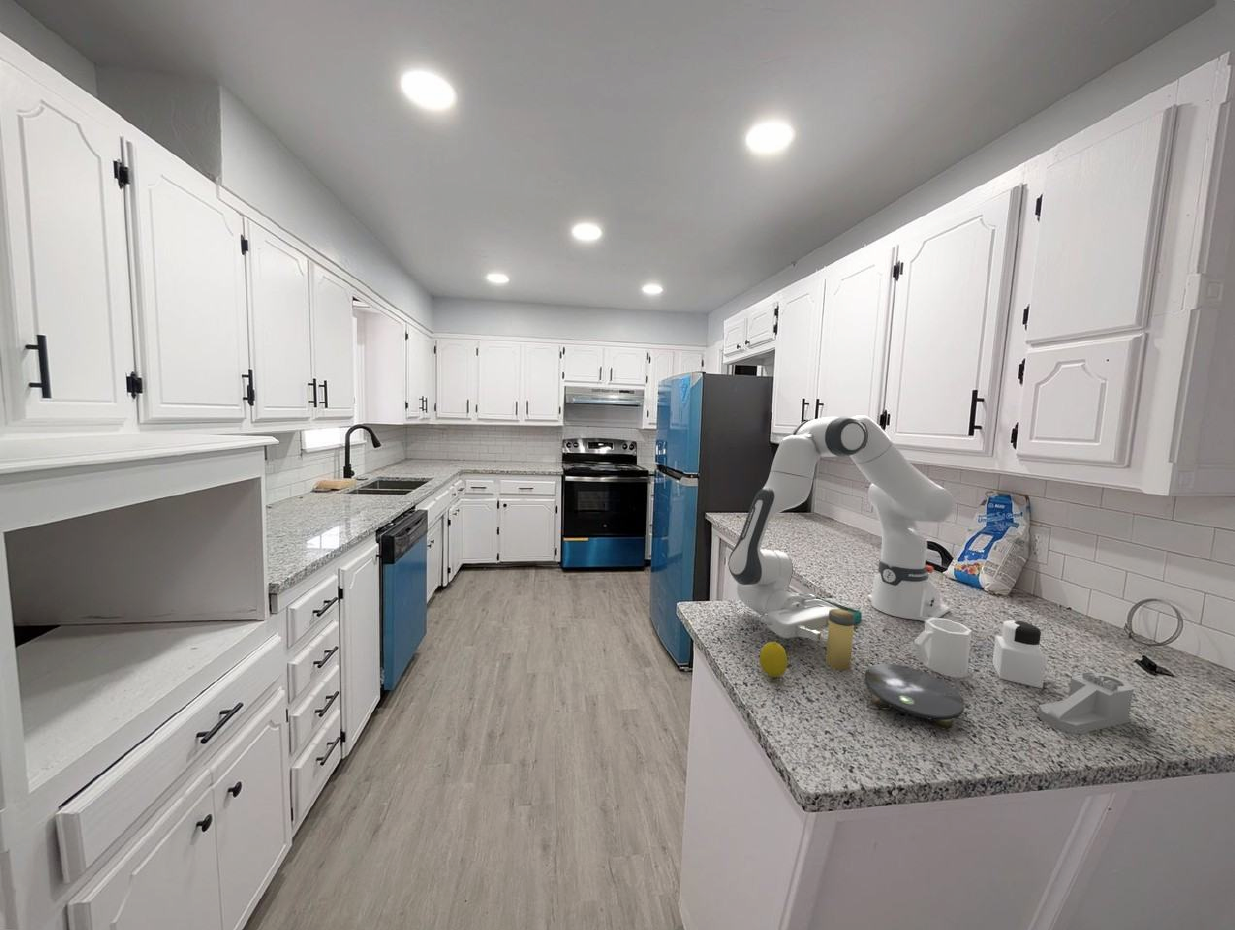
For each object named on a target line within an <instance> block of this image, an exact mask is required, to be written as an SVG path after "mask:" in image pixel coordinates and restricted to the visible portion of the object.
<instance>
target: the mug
mask: <svg viewBox="0 0 1235 930" xmlns="http://www.w3.org/2000/svg"><path fill="white" fill-rule="evenodd" d="M972 632H973V631H972V630H971V629H970V628H968V626H966V625H965V624H963V623H960V622H957V621H955V620H951V619H948V618H943V617H942V618H941V617H939V618H930V619H928V620H926V621H924V630H922V632H920V634H919V635H918V636H917V637H916V638H915V639H914V640H913V643H914V644H913V645H914V650H915V654H916V655H915V656H916V659H917V660H918V661H920V662H922V663H923V664H924V666H926V668H927V669H928V670H931V671H933V672H936V673H938V674H941V675H943V676H945V677H952V678H962V679H963V678H965V677H966V675H967V674H968V672H969V671H968V670H969V660H970V659H969V658H970V652H971V651H970V650H971V642H972V641H971V640H972Z"/></svg>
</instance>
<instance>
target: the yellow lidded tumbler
mask: <svg viewBox="0 0 1235 930" xmlns="http://www.w3.org/2000/svg"><path fill="white" fill-rule="evenodd" d="M855 624H856V623H855V615H854V614H853V613H851V612H849V611H846V610H841V609H831V610H830V611H829V628H827V630H828V631H827V642H826V643H827V644H826V660H825V663H826V665H828V666H829V667H830V668H831V669H833V670H834V669H835V670H837V671H849V670H851V668H852V667H851V666H852V653H853V643H854V642H853V641H854V628H855Z"/></svg>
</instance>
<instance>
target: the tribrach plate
mask: <svg viewBox="0 0 1235 930" xmlns="http://www.w3.org/2000/svg"><path fill="white" fill-rule="evenodd" d="M864 684H865V686H866V688H867V689H868V690H869V691H870V692H871V700H870V701H871V703H872V705H874V706H875V707H878V708H879V709H884V710H887V709H890V708H891V707H893V708H895V709H897V710H898V711H899V710H900V711H902V712H905V713H907V714H909V715H913V716H917V717H919V718H920V717H921V718H923V719H924V718H925V719H929V720H930V722H931V724H933V725H934V726H935V727H938V728H940V729H942V730H951V729H952V726H953V720H955V719H957V718H959V717H960V716H961V715H962V714H963V713H964V708H965V701H964V698H963V696H962V694H961V693H960V692H959V691H958V690H957V689H956V688H955V687H953V686H952V685H950V683H948V682H947V681H945V680H943V679H941V678H940V677H937V676H935V675H934V674H933V675H932V674H931V673H928V672H925V671H923V670H920V669H917V668H914V667H909V666H905V665H901V664H894V663H877V664H874V665H871V666H869V667H867V668H866V669H865V671H864Z"/></svg>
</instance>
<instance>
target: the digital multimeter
mask: <svg viewBox="0 0 1235 930" xmlns="http://www.w3.org/2000/svg"><path fill="white" fill-rule="evenodd" d="M816 599H819V600H823V601H825V602H827V603H830V604H832V605H834V606H836V607H838V608H840V609H841V610H846V611H849V612H851V613H853V614H854V615H855V624H858V623H859V622H860V621H861V620H862V615H863V613H862V612H861V611H860V610H858V609H854V608H850V607H848V606H845V605H841V604H838V603H835V602H833V601H829V600H826V599H823V598H821V597H818V596H816Z"/></svg>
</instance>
